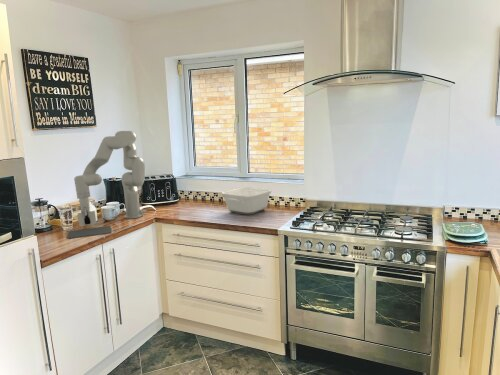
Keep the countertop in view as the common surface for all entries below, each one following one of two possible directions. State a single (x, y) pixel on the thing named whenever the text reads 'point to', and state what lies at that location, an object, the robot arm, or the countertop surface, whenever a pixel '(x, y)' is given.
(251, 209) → the white plastic tub
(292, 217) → the countertop surface
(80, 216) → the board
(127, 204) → the robot arm
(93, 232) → the mat
